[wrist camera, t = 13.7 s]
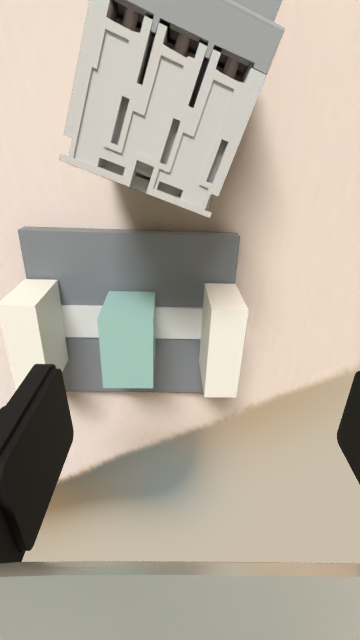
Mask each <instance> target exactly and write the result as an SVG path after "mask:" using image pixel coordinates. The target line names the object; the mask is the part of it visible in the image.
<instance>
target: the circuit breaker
mask: <svg viewBox="0 0 360 640" xmlns="http://www.w3.org/2000/svg"><path fill="white" fill-rule="evenodd" d="M281 2H282V0H89V5H88V10H87V15H86V21H85V26H84V31H83V36H82V42H81V47H80V52H79V57H78V63H77V68H76V73H75V78H74V83H73V89H72V94H71V99H70V104H69V110H68V115H67V120H66V125H65V131H64V135H65V136H68V137H70V138H72V142H71V147H70V152H69V157H68V156H65V155H62V154H60V157H59V160H61V161H63V162H66V163H68V164H70V165H72V166H75V167H78V168H81V169H84V170H86V171H89V172H92V173H94V174H97V175H99V176H101V177H104V178H106V179H109V180H112V181H114V182H117V183H119V184H122V185H125V186H127V187H130V188H132V189H135V190H138V191H140V192H143V193H145V194H148V195H151V196H153V197H156V198H158V199H161V200H164V201H166V202H169V203H171V204H174V205H176V206H180V207H183V208H185V209H188V210H190V211H193V212H195V213H197V214H200V215H202V216H206V217H208V218H210V216H211V214H212V213H211V212H209V211H208V208H209V206H210V203H211V200H212V198H213V195H215V196H219V194H220V191H221V189H222V186H223V184H224V181H225V179H226V176H227V174H228V171H229V169H230V166H231V164H232V161H233V159H234V156H235V154H236V151H237V148H238V146H239V143H240V141H241V138H242V136H243V133H244V131H245V128H246V126H247V123H248V121H249V118H250V116H251V113H252V111H253V108H254V106H255V103H256V101H257V98H258V96H259V93H260V91H261V88H262V86H263V83H264V81H265V78H266V76H267V73H268V71H269V68H270V66H271V63H272V61H273V58H274V56H275V53H276V51H277V48H278V45H279V43H280V40H281V38H282V35H283V33H284V30H285V28H284V27H282V26H280V25H278V24H276V23H274V20H275V18H276V15H277V12H278V10H279V7H280V4H281Z"/></svg>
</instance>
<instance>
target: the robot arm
mask: <svg viewBox="0 0 360 640" xmlns="http://www.w3.org/2000/svg"><path fill="white" fill-rule="evenodd" d="M337 440H338V444H339V446H340V448H341V450H342V452H343V453H344V455H345V457H346V459H347V461H348V463H349V465H350V467H351V469H352V471H353V472H354V474H355V476H356V478H357V480H358V482H359V484H360V371H358V372H356V374H355V377H354V380H353V383H352V387H351V390H350V393H349V396H348V399H347V403H346V406H345V409H344V413H343V416H342V419H341V422H340V425H339V429H338V432H337ZM72 441H73V426H72V421H71V416H70V411H69V405H68V400H67V395H66V390H65V385H64V380H63V374H62V371H61V369H57V368H56V366H55V365H54V364H35V365H34V366H33V367H32V368H31V370H30V371H29V373H28V374H27V376H26V377H25V379H24V380H23V381H22V383H21V384H20V386H19V387H18V389H17V390H16V392H15V393H14V395H13V396H12V398H11V399H10V401H9V402H8V403H7V405H6V406H4V407H2V408H1V409H0V640H360V564H346V563H274V562H273V563H271V562H155V561H153V562H152V561H151V562H150V561H147V562H146V561H141V562H139V561H65V562H64V561H63V562H21V561H22V559H23V556H24V553H25V551H29V550H31V549H32V547H33V545H34V543H35V540H36V538H37V535H38V532H39V530H40V527H41V524H42V521H43V519H44V516H45V513H46V511H47V508H48V505H49V503H50V500H51V497H52V494H53V492H54V489H55V487H56V484H57V481H58V479H59V476H60V473H61V471H62V468H63V465H64V463H65V460H66V457H67V455H68V452H69V449H70V447H71V444H72Z"/></svg>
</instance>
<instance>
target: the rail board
mask: <svg viewBox="0 0 360 640" xmlns="http://www.w3.org/2000/svg"><path fill="white" fill-rule="evenodd" d="M18 234H19V239H20V245H21V250H22V256H23V261H24V267H25V272H26V278H27V279H25V280H24V281H23V282H21V283H20V284H19V285H18V286H17V287H16V288H15V289H13V290H12V291H11V292H10V293H9V294H8V295H7V296H6V297H4V298H3V299H2V300H1V301H0V325H1V329H2V333H3V338H4V342H5V346H6V351H7V355H8V359H9V363H10V368H11V372H12V376H13V381H14V385H15V389H16V390H17V389H18V387H19V386H20V384H21V383H22V381H23V380H24V379H25V377H26V376H27V374H28V373H29V371H30V370H31V368H32V367H33V366H34V365H35V364H54V365H55V366H56V368H57V369H61V371H62V374H63V380H64V385H65V390H66V391H112V392H203V393H204V397H233V398H236V396H237V389H238V382H239V375H240V368H241V361H242V354H243V347H244V339H245V332H246V325H247V318H248V311H249V310H248V308H247V306H246V304H245V302H244V300H243V298H242V296H241V294H240V292H239V290H238V288H237V286H236V284H235V276H236V268H237V259H238V251H239V242H240V236H239V235H238V233H222V232H188V231H154V230H120V229H86V228H52V227H23V228H21V229H19V230H18ZM109 291H137V292H156V320H155V368H154V383H153V388H103V380H102V369H101V357H100V346H99V334H98V323H97V318H98V315H99V313H100V311H101V308H102V306H103V304H104V301H105V299H106V297H107V294H108V292H109Z"/></svg>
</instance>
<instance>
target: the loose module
mask: <svg viewBox="0 0 360 640" xmlns="http://www.w3.org/2000/svg"><path fill="white" fill-rule="evenodd" d="M155 320H156V292H137V291H109V292H108V294H107V297H106V299H105V301H104V304H103V306H102V308H101V311H100V313H99V315H98V318H97V323H98V334H99V346H100V357H101V369H102V380H103V388H153V383H154V368H155Z"/></svg>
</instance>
